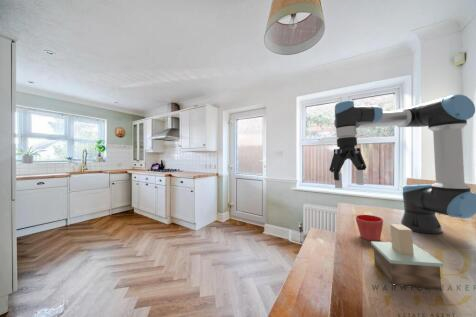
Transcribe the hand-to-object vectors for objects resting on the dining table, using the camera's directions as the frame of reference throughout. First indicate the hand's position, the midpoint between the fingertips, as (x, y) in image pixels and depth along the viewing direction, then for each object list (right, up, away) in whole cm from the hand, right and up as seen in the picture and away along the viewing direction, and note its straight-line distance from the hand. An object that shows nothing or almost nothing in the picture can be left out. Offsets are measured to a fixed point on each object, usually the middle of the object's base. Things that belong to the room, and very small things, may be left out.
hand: (349, 186), depth 79 cm
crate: (+7, -27, -18) cm, 33 cm away
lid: (+6, -20, -18) cm, 28 cm away
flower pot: (+16, -27, +10) cm, 33 cm away
